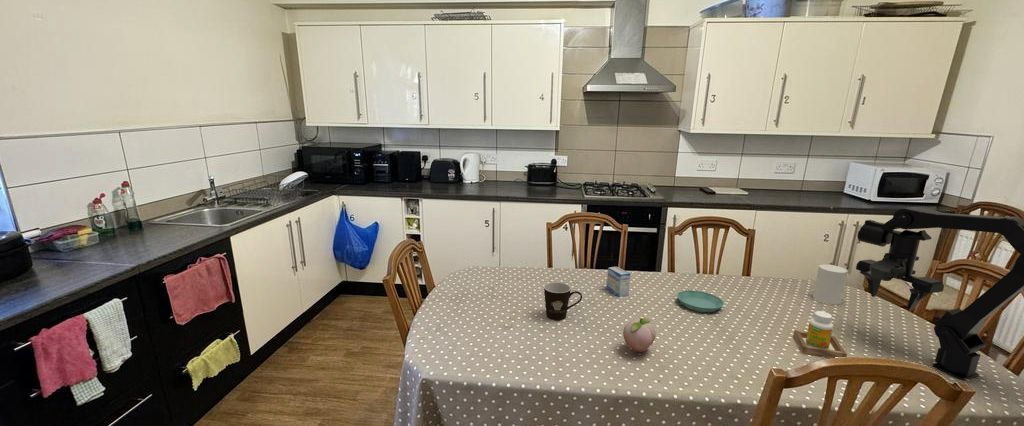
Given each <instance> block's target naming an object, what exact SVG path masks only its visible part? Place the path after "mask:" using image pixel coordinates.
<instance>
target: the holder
mask: <svg viewBox="0 0 1024 426" xmlns="http://www.w3.org/2000/svg"><path fill="white" fill-rule="evenodd" d="M807 333H808V331H804V330H803V331H802V330H798V329H797V330H796V329H794V331H793V335H792V336H793V338H794V340H795V342H796V344H797V345H798V346H797V347H799V349H800V351H801V354H804V355H810V356H817V357H823V358H827V359H833V358H835V357H846V358H847V356H848V353H847V352H846V350H845V349H844V347H843V346H842V345H841V344H840V342H839V341H838V339H837V337H836V336H834V335H831V340H830V345H829V348H828V349H824V348H818V347H812V346H809V345H807V343H806V338H807Z"/></svg>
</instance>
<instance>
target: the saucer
mask: <svg viewBox="0 0 1024 426" xmlns="http://www.w3.org/2000/svg"><path fill="white" fill-rule="evenodd" d="M676 296H677V299H678V301H679V302H680V303H681V304H682V305H683V306H684V307H685V308H687V309H689V310H692V311H695V312H699V313H712V312H717V310H719V309H721V308H722V307H723V306H724V305H725V303H724V300H722V298H720V297H718V296H716V295H714V294H711V293H708V292H704V291H701V290H689V289H688V290H682V291H679V292H678V293H677V295H676Z"/></svg>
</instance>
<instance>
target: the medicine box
mask: <svg viewBox="0 0 1024 426" xmlns="http://www.w3.org/2000/svg"><path fill="white" fill-rule="evenodd" d="M606 275H607V276H606V287H605V289H606V290H607V291H608V292H610V293H612V294H614V295H616V296H617V297H619V298H621V297H626V296H629V295H630V284H631V273H630V272H628V271H626V270H625V269H622V268H620V267H618V266H611V267H608V268H607V274H606Z"/></svg>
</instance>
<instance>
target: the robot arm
mask: <svg viewBox="0 0 1024 426" xmlns="http://www.w3.org/2000/svg"><path fill="white" fill-rule="evenodd" d="M937 228H939V229H948V230H949V229H950V230H961V231H969V232H970V231H972V232H983V233H993V234H1000V235H1001V236H1002V237H1004V239H1005V240H1006V241H1007V242H1008V243H1009V245H1010V246H1011V248H1013V249H1014V250H1015V251H1016V252H1017V253H1018V254H1019V256H1018V257H1017V258H1016V259H1015V261H1014V262H1013V263H1014V264H1013V265H1012V266H1011V269H1010V270H1009V272H1008V273H1006V274H1005V275H1004V276H1002V278H1000V279H999V280H997V282H995V283H994V284H993V285H992V286H990V287H989V288H988V289H987V290H986V291H985V292H984V293H982V294H981V295H980V296H979V297H977V298H976V299H974V301H973V302H971V303H970V304H969V305H968V306H966V307H965V308H964V309H961V308H960V307H957V308H953V309H951V310H948V311H947V310H946V312H944V314H943V315H942V316H941V317H940V318H939V319H937V320H934V323H935V325H934V326H933V330H934V334H935V336H936V337H937V338H938V341H939V346H940V347H939V348H938V349H937V352H936V356H935V359H934V362H935V363H932V364H931V366H932V367H934V368H936V369H937V370H941V371H943V372H945V373H947V374H949V375H951V376H953V377H955V378H958V379H960V380H966V379H972V378H975V377H979V375H980V374H979V373H977V372H976V371H977V368H978V364H979V361H980V357H981V354H979V353H977V352H980V351H982V350H983V349H984V348H986V346H987V344H986V343H985V341H984V340H983V339H982V338H981V336H980V335H979V334H978V332H979V331H980V330H981V329H982V327H983V325H984V323H985V321H986V320H987V319H988V318H989V317H990V316H991V315H993V314H994V313H996V312H997V311H998V310H999V309H1000V308H1002V307H1003V306H1004V305H1005V304H1007V303H1008V302H1009V301H1011V300H1012V299H1013V298H1015V297H1016V296H1017V295H1018V294H1020V293H1021V292H1022V291H1023V290H1024V219H1023V218H1021V217H1018V216H997V215H996V216H995V215H994V216H993V215H980V214H979V215H978V214H964V213H963V214H962V213H947V212H941V211H938V210H935V209H931V208H926V207H919V206H912V207H905V208H899V209H897V210H896V211H895V212H894V214H893V216H892V218H890V219H889V220H887V221H886V222H885V223H884V222H879V221H876V220H872V219H866V220H864V223H863V225H862V226H861V227H860V229H859V230H858V231H857V240H858V241H859V242H861V243H866V244H870V245H875V246H877V247H878V246H879V247H882V248H884V247H886V246H887V245H890V246H889V249H888V252H885V253H884V255H883V258H882V259H881V260H874V259H863V260H861V259H860V260H859V261H858V262H857V263H856V265H855V270H857V271H859V273H860V274H861V275H863V276H864V277H865V279H866V281H867V283H868V287H869V291H870V296H871V297H872V298H875V297H876V296H877V294H878V291H879V289H880V286H881V283H882V281H883V282H890V281H891V280H893V279H896V280H901V281H903V282H906V283H910V284H911V287H912V288H909V292H910V297H909V300H908V302H907V308H906V310H907V311H912V310H913V309H914V308H916V306H917V305H918V304H919V303H920V302H921V301H922V300H923V299H924V298H926V297H927V296H928V295H930V294H934V293H935V294H936V293H942V292H944V288H945V284H944V283H943V281H942V280H939V279H936V278H932V277H930V276H921V277H916V276H914V275H916V270H914V267H915V262H917V261H919V260H920V256H918V255H917V254H918V251H919V248H920V247H919V246H920V244H921V243H920V242H921V241H923V242H924V241H930V240H931V239H932V236H931V235H929V234H928V233H927V231H926V229H937ZM898 229H899V230H900V229H901V230H902V231H899V230H898ZM920 229H921V230H920ZM915 230H919V231H915Z"/></svg>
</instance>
